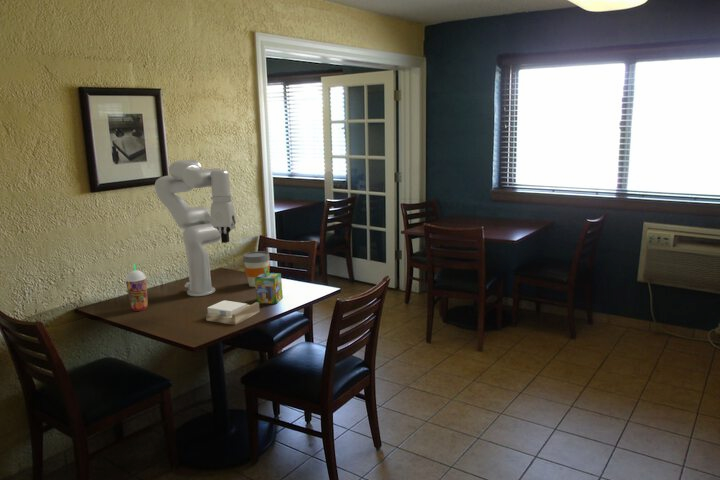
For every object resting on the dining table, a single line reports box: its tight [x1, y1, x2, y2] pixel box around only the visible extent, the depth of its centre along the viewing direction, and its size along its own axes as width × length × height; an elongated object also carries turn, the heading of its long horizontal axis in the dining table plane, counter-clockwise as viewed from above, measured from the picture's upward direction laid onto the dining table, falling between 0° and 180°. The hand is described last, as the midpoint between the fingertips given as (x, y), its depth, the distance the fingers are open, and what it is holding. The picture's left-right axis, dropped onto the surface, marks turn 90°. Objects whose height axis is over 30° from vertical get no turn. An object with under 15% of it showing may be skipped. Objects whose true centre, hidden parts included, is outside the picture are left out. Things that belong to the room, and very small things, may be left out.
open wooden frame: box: [205, 301, 261, 325], centre depth 233 cm, size 14×16×4 cm
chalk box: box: [255, 267, 284, 305], centre depth 250 cm, size 9×9×15 cm
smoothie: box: [125, 263, 149, 312], centre depth 244 cm, size 8×8×20 cm
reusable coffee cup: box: [242, 250, 271, 288], centre depth 276 cm, size 13×13×15 cm
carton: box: [207, 299, 248, 317], centre depth 232 cm, size 12×10×5 cm
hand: (225, 242), depth 245 cm, fingers closed
